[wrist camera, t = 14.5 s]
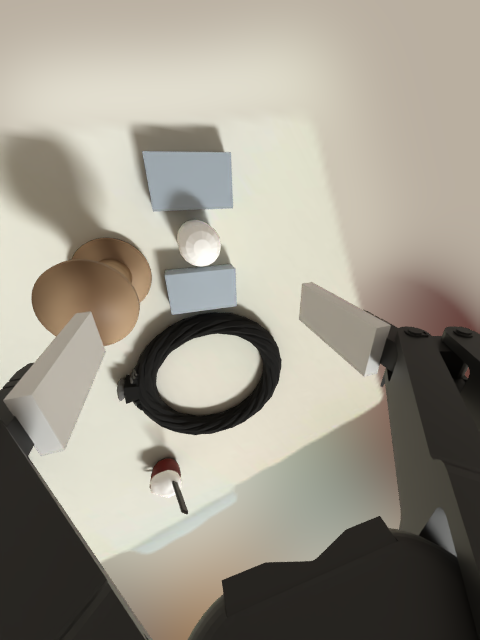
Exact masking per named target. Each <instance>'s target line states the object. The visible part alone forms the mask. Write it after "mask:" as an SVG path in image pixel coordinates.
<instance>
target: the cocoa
mask: <svg viewBox="0 0 480 640" xmlns="http://www.w3.org/2000/svg"><path fill="white" fill-rule="evenodd" d="M180 477H181V473H180V468H179V465H178V463H177V462H176V461H175V460H173V459H170V458H166V459H162V460H161V461H159V462H158V463H157V464H156V465H155V466H154V468H153V471H152V474H151V481H150V489H151V493H153V494H157V495H159V496H162V497H167V498H170V497H171V496H173V495H175V494H176V497H177V500H178V503H179V506H180V509H181V512H182V513H184V514H188V510H187V507H186V505H185V502H184V499H183V496H182V493H181V491H180V489H181V485H182V480H181V478H180Z"/></svg>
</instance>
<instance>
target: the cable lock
mask: <svg viewBox="0 0 480 640" xmlns="http://www.w3.org/2000/svg"><path fill="white" fill-rule="evenodd" d="M217 333H218V334H228V335H236V336H239V337H241V338H243V339H245V340H247V341H249V342H251V343H252V344H253V345H254V346H255V347H256V348H257V349H258V351H259V352H260V354H261V357H262V359H263V374H262V377H261V380H260V382H259V384H258V385H257V387H256V389H255V390H254V391H253V393H252V394H251V395H250V396H249V397H248V398H247V399H245V400H244V401H243V402H242V403H241V404H239V405H238V406H236V407H234V408H231V409H229V410H227V411H225V412H223V413H219V414H213V415H208V416H193V415H187V414H181V413H178V412H177V411H175V410H173V409H172V408H170V407H169V406H168V405H167V404H165V403H164V402H163V401H162V400H161V398H160V397H159V394H158V390H157V386H156V377H157V372H158V369H159V368H160V366H161V365H162V363H163V362H164V360H165V359H166V357H167V356H168V355H169V354H170V353H171V352H172V351H173V350H175V349H176V348H178V347H179V346H181V345H182V344H184V343H185V342H187V341H189V340H191V339H193V338H197V337H201V336H205V335H209V334H217ZM280 370H281V358H280V353H279V348H278V346H277V344H276V342H275V341H274V339H273V337H272V336H271V335H270V333H269V332H268V331H267V330H266V329H264V328H263V327H261V326H260V325H259V324H258V323H257V322H254V321H252V320H250V319H248V318H246V317H243V316H239V315H236V314H233V313H218V312H214V313H206V314H199V315H196V316H193V317H190V318H186V319H183V320H181V321H179V322H177V323H175V324H173V325H171V326H169V327H168V328H166V329H165V330H164V331H163V332H162V333H161V334H159V335H157V336H156V337H155V338H154V339H153V340H152V341H151V342H150V343H149V344H148V346H147V347H146V348H145V350H144V351H143V353H142V354H141V356H140V358H139V361H138V363H137V365H136V366H135V368H134V370H133V372H132V373H131V375H127V376H126V380H123V379H122V378H120V380H119V382H118V386H117V394H118V398H119V400H120V401H122V400H123V399H124V398H125V400H126V404H127V403H130V402H134V404H135V405H137V407H138V408H139V409H140V410H143V411H144V413H145V414H146V415H147V416H149V418H150V419H152V420H153V421H155V422H156V423H157V424H159V425H160V426H161V427H164V428H167V429H169V430H172V431H175V432H179V433H185V434H192V435H199V434H212V433H216V432H219V431H222V430H226V429H229V428H233V427H235V426H237V425H239V424H241V423H243V422H245V421H246V420H247V419H248V418H250V417H251V416H253V415H254V414H255V413H257V412H258V411H259V410H261V409H262V407H263V406H264V404H265V403H266V402H267V401H268V400H269V399H270V398H271V397H272V395H273V392H274V390H275V388H276V386H277V384H278V381H279V376H280Z"/></svg>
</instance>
